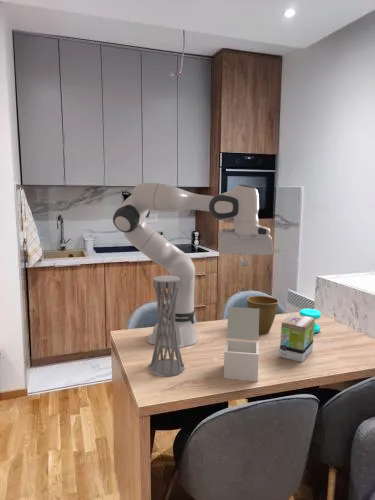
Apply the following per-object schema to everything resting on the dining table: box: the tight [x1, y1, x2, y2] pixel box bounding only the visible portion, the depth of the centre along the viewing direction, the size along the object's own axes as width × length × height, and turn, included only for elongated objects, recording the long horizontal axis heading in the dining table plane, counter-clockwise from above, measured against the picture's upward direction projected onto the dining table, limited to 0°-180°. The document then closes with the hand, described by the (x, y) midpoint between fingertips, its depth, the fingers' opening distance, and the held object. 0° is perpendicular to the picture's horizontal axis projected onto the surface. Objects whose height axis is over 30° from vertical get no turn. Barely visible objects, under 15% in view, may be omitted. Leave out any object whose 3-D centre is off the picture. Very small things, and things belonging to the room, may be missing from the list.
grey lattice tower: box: [148, 275, 185, 378], centre depth 143 cm, size 14×13×35 cm
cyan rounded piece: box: [299, 308, 322, 334], centre depth 187 cm, size 10×10×10 cm
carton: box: [223, 339, 260, 382], centre depth 141 cm, size 12×12×10 cm
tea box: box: [279, 313, 316, 363], centre depth 159 cm, size 15×10×15 cm, turn 148°
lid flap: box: [226, 306, 260, 341], centre depth 148 cm, size 12×12×1 cm
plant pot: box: [246, 295, 279, 335], centre depth 184 cm, size 15×15×16 cm
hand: (245, 265), depth 144 cm, fingers closed
